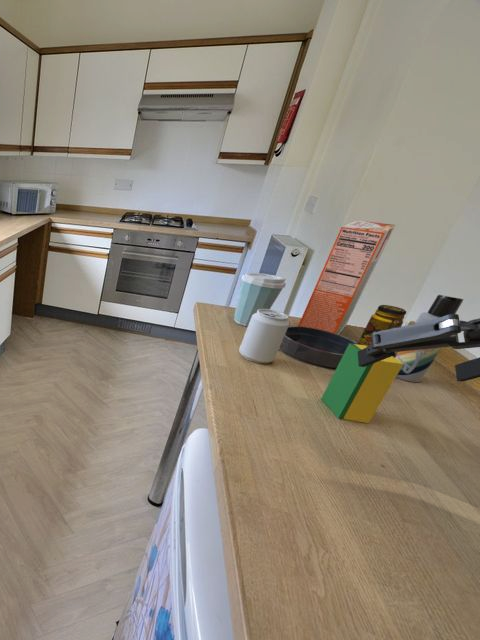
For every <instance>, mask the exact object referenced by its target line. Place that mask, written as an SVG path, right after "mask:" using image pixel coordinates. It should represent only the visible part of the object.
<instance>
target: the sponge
mask: <svg viewBox="0 0 480 640" xmlns="http://www.w3.org/2000/svg"><path fill="white" fill-rule="evenodd" d="M366 347H367V346H365V345H358V344H351V343H349V345H348V347H347V349H346V351H345V353H344V355H343V357H342V359H341V361H340V363H339V365H338V366H337V368H335V370H334V371H333V372H334V373H333V374H332V376H331V378H330V381H329V382H328V384H327V385H326V389H325V391H324V392H323V394H322V396H321V398H320V400H321V401H322V402H323V403H324V404H325V405H326V407H327V408H328V409H329V410H330V411H331V412H332V413H333V414H334V416H335V417H336V418H337V419H341V420H345V421H352V422H358V423H363V422H364V424H369V423H370V422H371V421H372V418H373V416H374V415H375V413H376V412H377V410H378V409H379V407H380V405H381V403H382V401H383V400H384V399H385V397H386V394H387V393H388V392H389V390H390V388H391V386H392V384H393V383H394V381H395V380H396V378H397V377H396V376H397V374H398V373H399V371H400V369H401V368H402V366H403V363H401V362H400V361H398V360H397V359H395V357H394V356H391V357H389V358H386V359H384V360H381V361H378V362H376V363H373V364H371V365H368V366H365V367H360V366H359V364H358V351H360V350H362V349H364V348H366Z"/></svg>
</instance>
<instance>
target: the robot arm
mask: <svg viewBox="0 0 480 640" xmlns="http://www.w3.org/2000/svg"><path fill="white" fill-rule="evenodd" d="M462 332H463V340H464V341H460V340H459V334H461V333H462ZM371 335H372V345H369V346H367V347H366V348H364V349H362V350H360V351H358V364H359V366H360V367H365V366H368V365H371V364H373V363H376V362H378V361H381V360H384V359H386V358H389V357H391V356H392V357H394V356H396V355H395V353H398V352H401V351H411V350H421V349H431V348H441V347H442V348H451V349H452V350H453V349H454V350H464V349H474V348H480V317H479V318H475V319H470V320H468V321H466V320H462V319H461V320H460V315H459V314H457V313H456V314H449V315H446V316H443V317H440V318H437V319H435V320H430V321H426V322H421V323H416V324H415V323H412V324H408V325H402V326H401V327H397V328H393V329H388V330H383V331H379V332H374V333H372V334H371ZM442 348H441V349H442ZM454 369H455V376H456V381H457V382H467V381H470V380H473V379H478V378H480V357H476V358H473V359H470V360H466V361H464V362H460V363H456V364H454Z"/></svg>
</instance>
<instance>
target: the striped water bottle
mask: <svg viewBox="0 0 480 640" xmlns="http://www.w3.org/2000/svg"><path fill="white" fill-rule="evenodd" d="M463 301H464V298H459V297H453V296H447V295H443V294H437V296H436V297H435V299H434V301H433V302H432V304H431V305H430V308H429V309H428V311H427V312H425V311H424V312H421V313H420V314H419V316H418V317H417V318H416V321H415V322H414V324H416V323H421V322H426V321H430V320H435V319H437V318H440V317H443V316H446V315H449V314H457V312H458V310H459V309H460V307H461V306H462V304H463ZM442 348H443V347H441V348H431V349H421V350H411V351H401V352H397V353H398V354H397V355H395V357H394V358H395V359H397V360H398V361H400V362H401V363H403V366H402V368H401V369H400V371H399V373H398V374H397V376H396V378H397V379H399V380H403V381H406V382H412V383H419V382H421V381H422V380H423V378H424V376H425V375H426V373H427V372H428V370H429V369H430V367H431V366H432V364H433V362H434V360H435V359H436V357H437V355H438V354H439V353H440V351H441V350H442Z"/></svg>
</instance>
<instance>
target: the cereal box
mask: <svg viewBox="0 0 480 640" xmlns="http://www.w3.org/2000/svg"><path fill="white" fill-rule="evenodd" d="M396 226H397V225H396V224H391V223H383V222H374V221H368V220H358V219H357V220H355V221H352V222H350V223H348V224H345V225H343V226H341V227H340V230H339V231H338V234H337V236H336V239H335V241H334V243H333V245H332V248H331V250H330V252H329V255H328V257H327V259H326V261H325V264H324V267H323V268H322V270H321V273H320V275H319V277H318V279H317V281H316V284H315V285H314V286H315V287H314V289H313V292H312V293H311V296H310V298H309V300H308V302H307V305H306V307H305V309H304V310H303V314H302V316H301V318H300V320H299V322H298V325H297V326H302V327H310V328H315V329H320V330H324V331H328V332H331V333H335V334H338V335H341V333H342V332H343V330H344V329H345V328H346V327H347V325H348V323H349V321H350V318H351V316H352V314H353V312H354V310H355V309H356V307H357V304H358V303H359V301H360V298H361V296H362V295H363V292H364V290H365V289H366V286H367V284H368V282H369V281H370V278H371V276H372V274H373V272H374V270H375V268H376V266H377V264H378V262H379V260H380V258H381V256H382V254H383V252H384V251H385V248H386V246H387V244H388V242H389V240H390V238H391V235H393V232H394V229H395V228H396ZM344 327H345V328H344ZM340 332H341V333H340Z"/></svg>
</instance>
